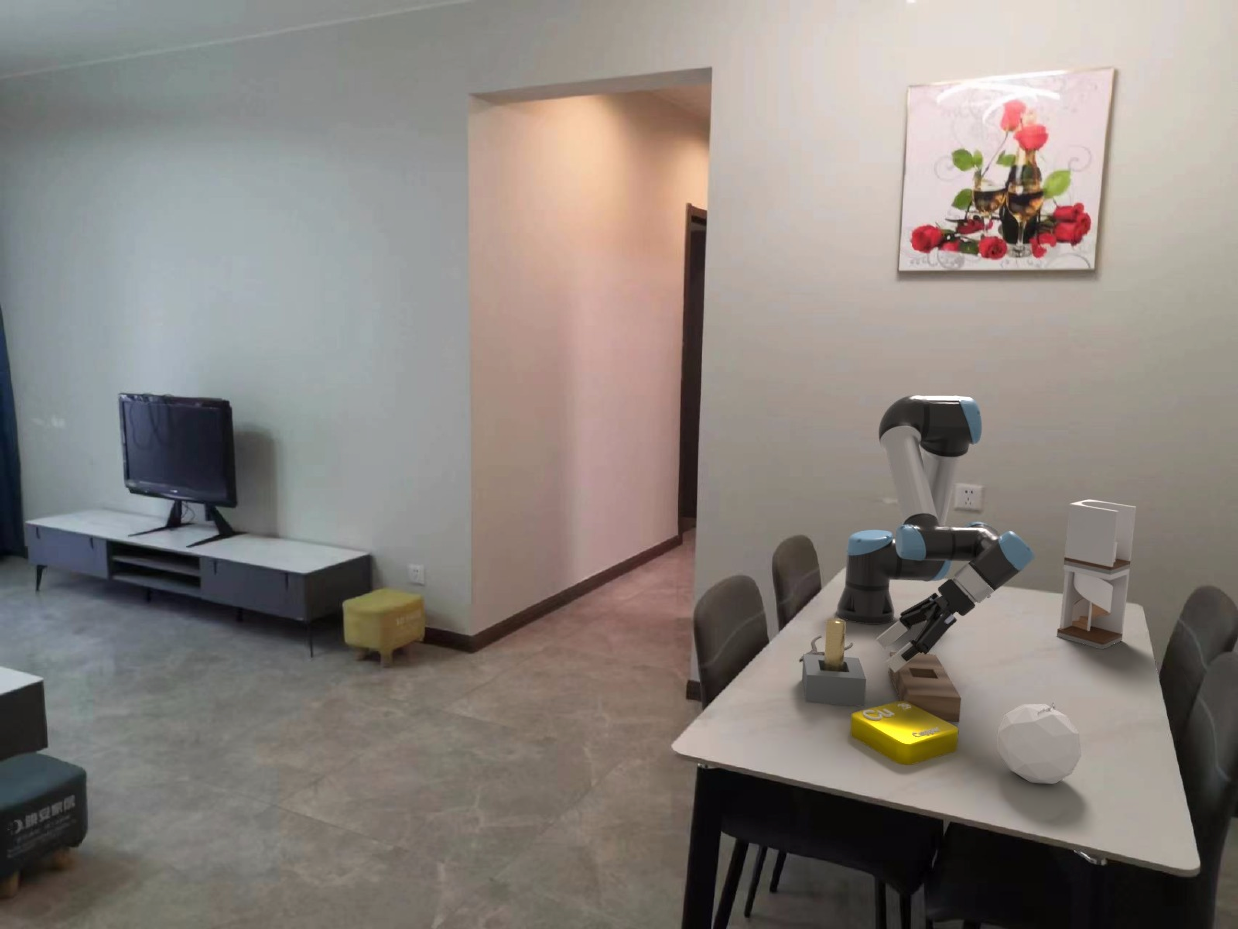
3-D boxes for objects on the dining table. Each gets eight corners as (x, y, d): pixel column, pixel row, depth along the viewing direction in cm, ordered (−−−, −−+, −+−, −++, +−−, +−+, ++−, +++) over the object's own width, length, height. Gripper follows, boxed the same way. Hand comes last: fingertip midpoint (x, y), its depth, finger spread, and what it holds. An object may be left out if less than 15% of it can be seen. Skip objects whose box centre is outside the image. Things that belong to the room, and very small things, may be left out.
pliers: (854, 640, 220) (840, 667, 202) (854, 643, 220) (839, 670, 202) (815, 634, 224) (798, 660, 206) (815, 637, 224) (798, 663, 206)
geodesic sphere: (1015, 716, 165) (1006, 673, 157) (1096, 739, 156) (1090, 695, 148) (991, 782, 158) (980, 740, 150) (1074, 810, 149) (1066, 767, 141)
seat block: (802, 679, 195) (803, 654, 194) (857, 683, 194) (858, 657, 193) (805, 702, 184) (806, 674, 183) (864, 706, 182) (866, 679, 181)
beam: (888, 672, 200) (890, 651, 200) (934, 675, 199) (935, 654, 198) (907, 717, 177) (909, 694, 176) (959, 721, 175) (961, 698, 175)
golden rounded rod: (821, 688, 191) (825, 617, 188) (840, 689, 190) (844, 618, 188) (823, 695, 187) (827, 623, 184) (842, 697, 186) (846, 625, 184)
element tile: (903, 768, 157) (905, 743, 156) (845, 734, 170) (846, 711, 169) (962, 751, 164) (963, 726, 163) (901, 719, 177) (903, 696, 176)
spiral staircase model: (1056, 636, 226) (1069, 503, 221) (1076, 628, 233) (1089, 499, 227) (1102, 649, 217) (1117, 511, 212) (1121, 640, 224) (1136, 506, 218)
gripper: (992, 623, 169) (907, 691, 174) (962, 586, 194) (888, 647, 198) (966, 595, 169) (881, 664, 174) (939, 562, 193) (865, 623, 198)
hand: (884, 655), depth 186 cm, fingers open, 13 cm apart
